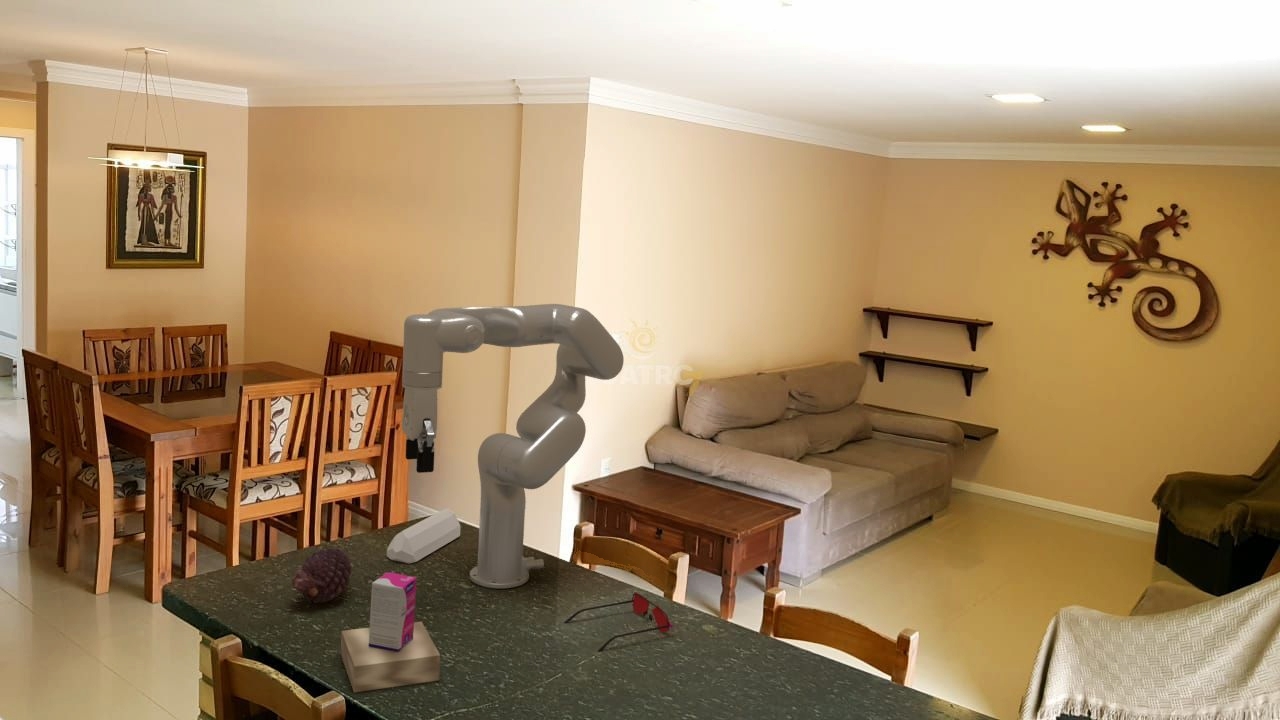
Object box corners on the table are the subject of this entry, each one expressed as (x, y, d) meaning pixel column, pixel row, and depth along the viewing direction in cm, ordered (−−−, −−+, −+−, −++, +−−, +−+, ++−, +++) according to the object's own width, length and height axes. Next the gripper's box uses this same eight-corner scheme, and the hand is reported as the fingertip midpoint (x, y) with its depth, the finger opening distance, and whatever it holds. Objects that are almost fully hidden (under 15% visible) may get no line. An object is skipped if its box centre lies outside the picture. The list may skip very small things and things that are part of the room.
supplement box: (399, 652, 167) (401, 588, 165) (367, 647, 168) (369, 582, 167) (415, 638, 173) (417, 576, 171) (383, 633, 174) (385, 570, 172)
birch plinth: (420, 645, 180) (421, 621, 180) (439, 680, 168) (440, 655, 167) (340, 655, 174) (341, 630, 174) (354, 692, 162) (354, 666, 161)
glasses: (673, 638, 191) (675, 613, 191) (598, 654, 183) (600, 628, 182) (635, 611, 203) (636, 587, 202) (563, 624, 194) (564, 600, 194)
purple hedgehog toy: (325, 578, 207) (326, 532, 206) (369, 585, 206) (370, 538, 204) (279, 611, 190) (280, 561, 189) (327, 618, 189) (328, 568, 187)
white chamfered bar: (418, 552, 216) (472, 521, 238) (394, 531, 217) (449, 503, 240) (402, 577, 218) (457, 544, 240) (378, 556, 219) (435, 526, 242)
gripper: (393, 371, 198) (391, 454, 200) (412, 388, 182) (409, 478, 185) (431, 370, 201) (428, 453, 203) (452, 387, 185) (449, 476, 188)
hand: (419, 465), depth 194 cm, fingers open, 9 cm apart
